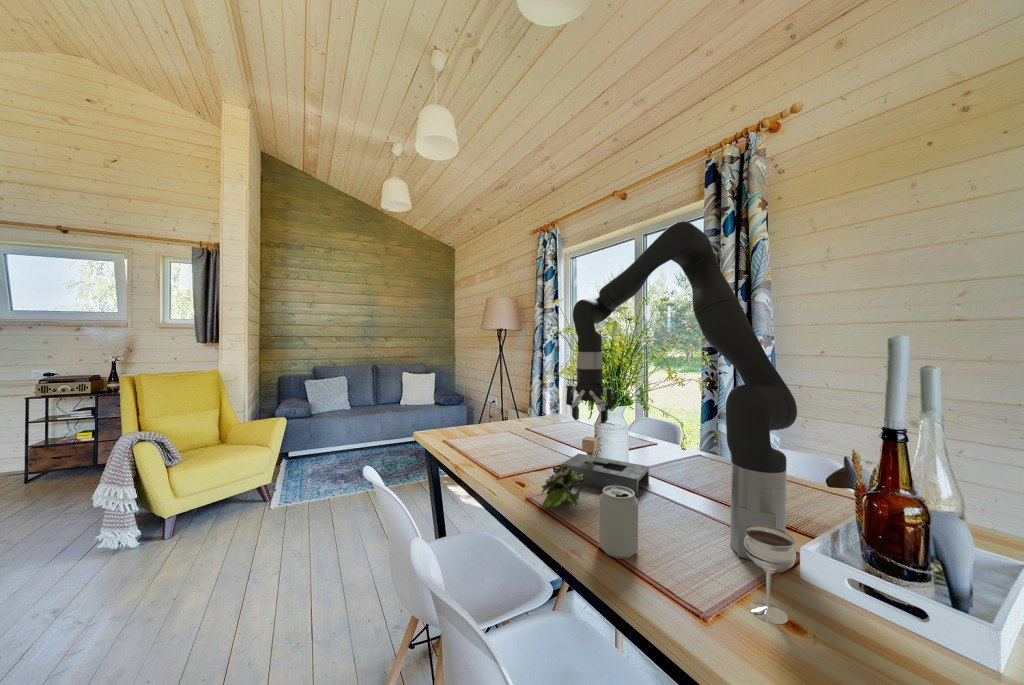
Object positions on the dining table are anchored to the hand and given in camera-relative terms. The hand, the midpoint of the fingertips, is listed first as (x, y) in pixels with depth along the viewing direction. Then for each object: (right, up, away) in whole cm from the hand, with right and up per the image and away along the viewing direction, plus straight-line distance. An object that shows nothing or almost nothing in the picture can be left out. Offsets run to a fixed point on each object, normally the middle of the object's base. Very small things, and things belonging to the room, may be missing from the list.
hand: (589, 421), depth 115 cm
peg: (0, -17, 0) cm, 17 cm away
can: (-2, -18, -38) cm, 42 cm away
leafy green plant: (-10, -18, -17) cm, 27 cm away
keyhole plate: (+4, -17, -2) cm, 18 cm away
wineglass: (+17, -19, -55) cm, 61 cm away
